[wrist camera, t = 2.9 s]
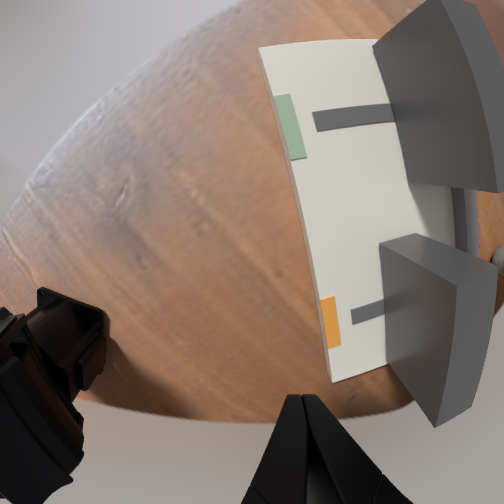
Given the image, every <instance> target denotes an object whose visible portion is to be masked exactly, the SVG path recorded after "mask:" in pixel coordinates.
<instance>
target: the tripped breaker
mask: <svg viewBox="0 0 504 504" xmlns="http://www.w3.org/2000/svg"><path fill="white" fill-rule="evenodd" d="M379 250H380V259H381V268H382V279H383V291H384V306H385V327H386V361H387V362H388V364H389V365H390V366H391V368H392V369H393V371H394V372H395V373H396V375H397V376H398V377H399V379H400V380H401V381H402V383H403V384H404V386H405V387H406V388H407V390H408V391H409V392H410V394H411V395H412V397H413V398H414V399H415V401H416V402H417V404H418V405H419V406H420V408H421V409H422V411H423V412H424V413H425V415H426V416H427V418H428V419H429V421H430V422H431V423H432V425H433V427H434V428H436V427H438V426H439V425H441V424H443V423H445V422H447V421H449V420H450V419H452V418H454V417H456V416H457V415H459V414H461V413H462V412H464V411H465V410H467V409H469V408H470V407H471V406H472V403H473V401H474V397H475V394H476V391H477V388H478V384H479V381H480V377H481V374H482V370H483V366H484V362H485V357H486V353H487V348H488V344H489V339H490V333H491V328H492V322H493V316H494V309H495V301H496V292H497V281H498V267H499V266H496V265H494V264H492V263H490V262H487V261H485V260H483V259H480V258H478V257H476V256H473V255H471V254H468V253H466V252H464V251H461V250H459V249H456V248H454V247H451V246H449V245H446V244H444V243H441V242H439V241H436V240H433V239H431V238H428V237H425V236H423V235H420V234H417V233H413V234H410V235H406V236H403V237H399V238H396V239H392V240H389V241H385V242H382V243H379Z"/></svg>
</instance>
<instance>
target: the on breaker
mask: <svg viewBox="0 0 504 504" xmlns="http://www.w3.org/2000/svg"><path fill="white" fill-rule="evenodd" d="M372 48H373V51H374V53H375V56H376V59H377V61H378V64H379V67H380V70H381V73H382V76H383V79H384V82H385V85H386V88H387V91H388V95H389V98H390V102H391V105H392V109H393V112H394V116H395V120H396V124H397V128H398V132H399V136H400V140H401V145H402V149H403V154H404V159H405V164H406V169H407V175H408V180H409V183H416V184H427V185H437V186H447V187H456V188H464V189H472V190H479V191H486V192H493V193H500V192H504V70H503V66H502V64H501V61H500V58H499V56H498V53H497V51H496V48H495V45H494V43H493V41H492V38H491V36H490V34H489V31H488V29H487V27H486V25H485V23H484V21H483V19H482V17H481V15H480V13H479V11H478V9H477V7H476V5H474V4H471V3H468V2H465V1H462V0H426V1H425V2H424V3H423V4H421V5H420V6H419V7H418V8H416V9H415V10H414V11H413V12H411V13H410V14H409V15H408V16H406V17H405V18H404V19H403V20H402V21H400V22H399V23H398V24H397V25H396V26H394V27H393V28H392V29H391V30H390V31H389V32H387V33H386V34H385V35H384V36H383V37H382V38H381V39H379V40H378V41H377V42H376V43H375V44H374V45H373V46H372Z"/></svg>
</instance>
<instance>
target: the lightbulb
mask: <svg viewBox="0 0 504 504" xmlns="http://www.w3.org/2000/svg"><path fill="white" fill-rule="evenodd" d="M492 264H494V265H496V266H499V267H498V274H500V275H501V276H503V277H504V247H503V246H501V247H499V248H497V249H496V251H495V252H494V254H493V257H492Z"/></svg>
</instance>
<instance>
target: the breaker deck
mask: <svg viewBox="0 0 504 504" xmlns="http://www.w3.org/2000/svg"><path fill="white" fill-rule="evenodd" d="M377 41H378V40H375V39H344V40H322V41H309V42H299V43H290V44H282V45H274V46H268V47H262V48H258V54H257V58H258V62H259V65H260V68H261V72H262V75H263V78H264V82H265V85H266V88H267V92H268V95H269V99H270V102H271V106H272V109H273V113H274V117H275V120H276V124H277V128H278V131H279V135H280V139H281V143H282V147H283V151H284V155H285V159H286V163H287V167H288V171H289V175H290V179H291V183H292V187H293V192H294V196H295V200H296V205H297V209H298V213H299V218H300V222H301V227H302V232H303V236H304V241H305V246H306V251H307V256H308V261H309V266H310V271H311V276H312V281H313V286H314V292H315V297H316V303H317V308H318V314H319V320H320V326H321V332H322V338H323V344H324V351H325V357H326V364H327V371H328V374H329V376H330V378H331V381H332V383H334V382H337V381H340V380H343V379H346V378H349V377H352V376H355V375H358V374H361V373H364V372H367V371H370V370H372V369H375V368H378V367H380V366H383V365H386V364H388V362H387V361H386V327H385V306H384V291H383V279H382V268H381V259H380V250H379V243H382V242H385V241H389V240H392V239H396V238H399V237H403V236H406V235H410V234H413V233H417V234H420V235H423V236H425V237H428V238H431V239H433V240H436V241H439V242H441V243H444V244H446V245H449V246H451V247H454V248H456V249H459V250H461V251H464V252H466V253H468V254H471V255H473V256H476V257H478V258H479V223H478V207H477V195H476V190H472V189H464V188H456V187H447V186H437V185H427V184H416V183H409V180H408V175H407V169H406V164H405V159H404V154H403V149H402V145H401V140H400V136H399V132H398V128H397V124H396V120H395V116H394V112H393V109H392V105H391V102H390V98H389V95H388V91H387V88H386V85H385V82H384V79H383V76H382V73H381V70H380V67H379V64H378V61H377V59H376V56H375V53H374V51H373V48H372V46H373V45H374V44H375V43H376V42H377Z"/></svg>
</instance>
